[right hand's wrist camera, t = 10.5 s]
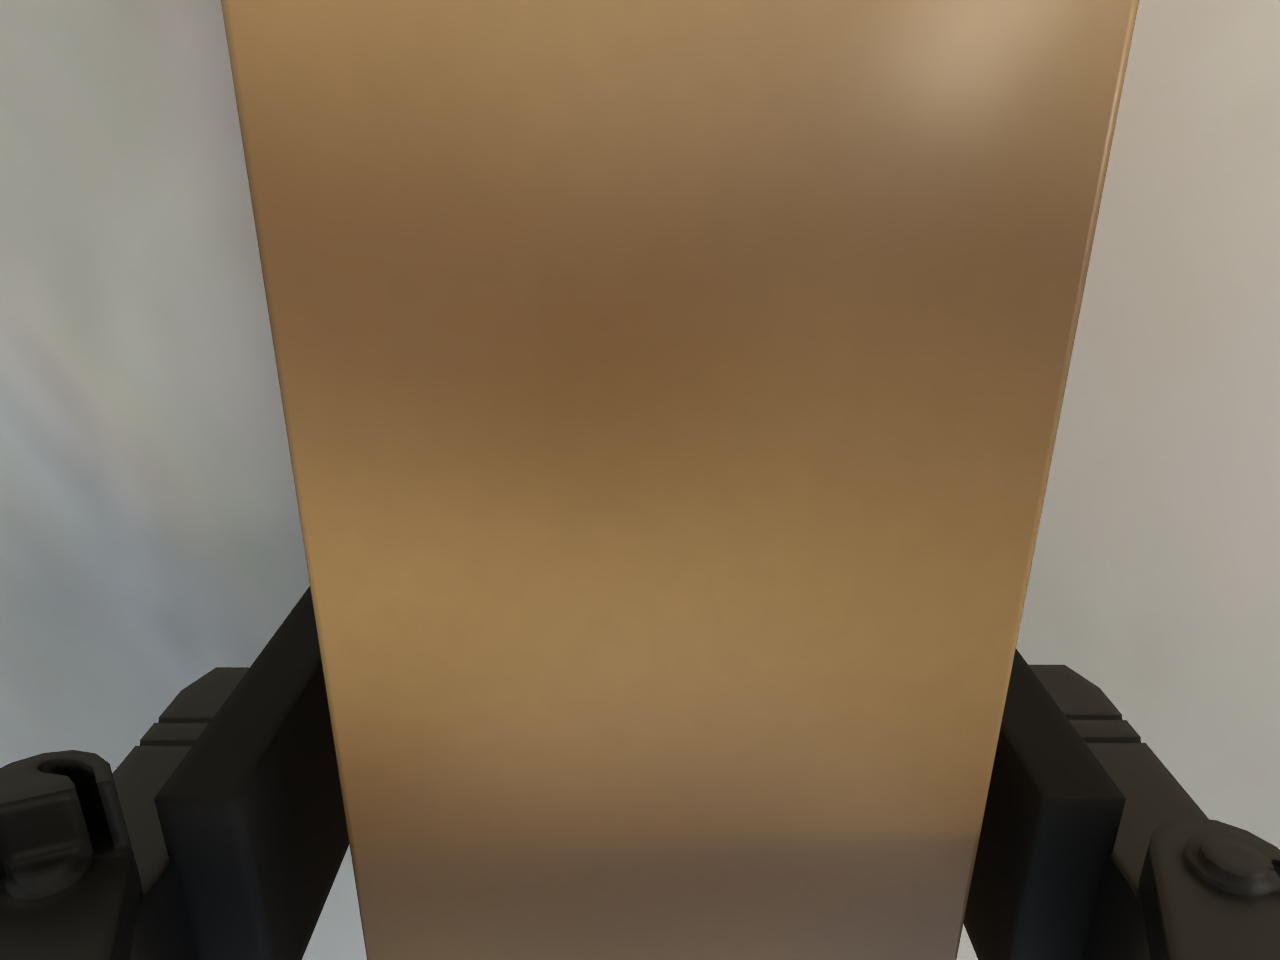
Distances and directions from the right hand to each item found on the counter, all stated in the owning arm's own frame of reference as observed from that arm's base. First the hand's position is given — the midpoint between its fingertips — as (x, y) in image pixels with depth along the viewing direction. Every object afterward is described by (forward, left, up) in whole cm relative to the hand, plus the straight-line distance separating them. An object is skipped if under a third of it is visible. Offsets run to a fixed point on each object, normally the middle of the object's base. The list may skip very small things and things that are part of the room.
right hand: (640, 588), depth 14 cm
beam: (+3, -28, -2) cm, 28 cm away
